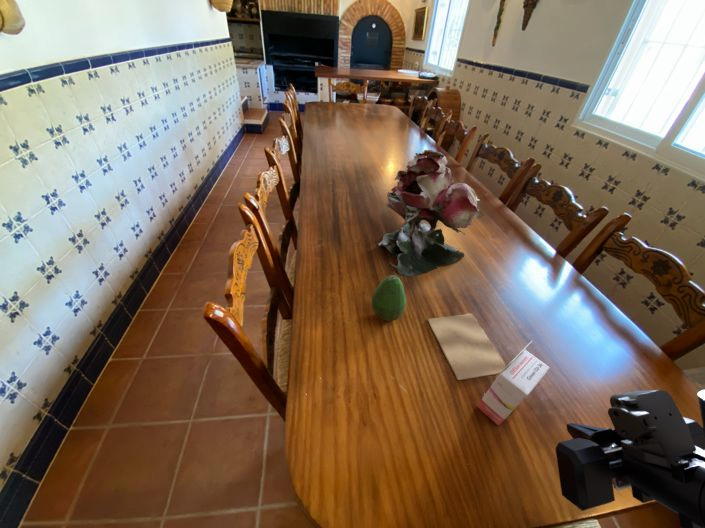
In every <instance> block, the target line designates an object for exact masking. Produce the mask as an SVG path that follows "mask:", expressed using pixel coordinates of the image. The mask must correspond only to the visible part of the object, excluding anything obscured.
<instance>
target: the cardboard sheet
mask: <svg viewBox="0 0 705 528" xmlns="http://www.w3.org/2000/svg"><path fill="white" fill-rule="evenodd" d="M426 319H427V323H428V325H429V327H430V329H431V331H432V333H433V336H434V337H435V339H436V340H437V344H439V347H440V349H441V351H442V353H443V354H444V357H445V359H446V361H447V363H448V365H449V367H450V369H451V371H452V373H453V375H454V377H455V379H456V381H457V382H462V381H466V380H473V379H478V378H483V377H490V376H496V375H499V374H500V373H501V371H502V370H503V369H504V368H505V367H506V366H507V364H506V363H505V361H504V360H503V358H502V356H501V355H500V354H499V352H498V350H497V349H496V347H495V346H494V345H493V343H492V341H491V340H490V339H489V337H488V335H487V334H486V331H484V329H483V328H482V326H481V324H480V323H479V322H478V320H477V319H476V318H475V316H474V314H473V313H465V314H456V315H455V314H454V315H448V316H441V317H431V318H426Z"/></svg>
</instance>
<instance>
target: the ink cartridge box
mask: <svg viewBox="0 0 705 528" xmlns="http://www.w3.org/2000/svg"><path fill="white" fill-rule="evenodd" d="M532 343H533V340H531V341H530V342H528V343H527V344H526V345H525V346H524V348H522V350H520V351H519V353H518V354H517V355H515V357H514V358H513V359H512V360H511V361H510V362H509V363H508V364H506V367H505V368H504V369H503V370H502V371H501V373H500V374H497V376H496V378H495V379H494V381H493V382H492V383H491V385H490V387H489V388H488V389H487V390H486V392H485V394H484V395H483V396H482V398H481V399H480V401H479V402H478V403H477V404H476V407H477V408H478V409H479V410H480V411H481V412H483V414H485V415H486V416H487V417H488V418H489V419H490V420H491V421H492V422H493V423H494V424H495V425H496V426H498V427H499V426H500V425H501V424H502V423H504V421H505V420H506V419H507V418H508V417H509V416H510V415H511V413H512V412H513V411H514V410H516V408H517V407H518V406H519V405H520V404H521V403H522V402H523V401H524V400H525V399H526V398H527V397H528V396H529V395H530V394H531V393H532V391H533V390H534V389H535V388H536V387H537V385H538V384H539V383H540V382H541V380H542V379H543V378H544V376H545V375H547V372H548V371H549V369H550V366H548V365H547V364H546V363H545V362H543V361H542V360H540V359H539V358H537V357H536V356H535V355H533V354H532V353H531V352H529V351H528V350H527V348H528V347H529V346H530V345H531V344H532Z"/></svg>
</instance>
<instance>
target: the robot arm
mask: <svg viewBox="0 0 705 528" xmlns="http://www.w3.org/2000/svg"><path fill="white" fill-rule="evenodd" d="M696 396H697V401H698V406H699V407H698V408H699V413H700V418H701V423H702V424H701V425H700V423H699V422H698V421H696V420H694V419H691V418H688V417H684V416H683V415H682V412H681V411H680V409H679V407H678V406H677V404H676V401H675V400H674V398H673V396H672V395H671V394H670V393H669V392H668V391H666V390H664V389H648V390H630V391H628V392H627V391H626V392H623V393H616V394H612V395H611V396H610V398H609V405H610V406H611V407H609V408H608V410H607V415H608V417H609V419H610V421H611V424H612V425H613V427H614V429H613V427H610V428H604V427H597V426H593V425H585V424H580V423H575V422H570V423H566V430H567V432H568V434H569V435H570V437H571V438H572V439H567V440H562V441H558V443H557V445H556V446H555V456H556V462H557V469H558V470H557V471H558V477H559V481H560V482H559V484H560V491H561V496H562V497H564V499H566V500H567V501H568V502H569V503H571V504H573V505H574V506H575V507H576V508H577V509H579V510H580V511H582V512H583V511H587V510H590V509H593V508H597V507H601V506H604V505H608V504H610V503H613V502H615V501H616V499H615V492H614V489H615V490H616V491H622V490H626V489H629V488H631V494H632V498H633V499H636V500H637V501H639V502H641V503H642V504H646V503H650V502H653V501H655V502H656V503H658V504H660V505H662V506H664V507H665V508H667V509H669V510H671V511H672V512H674V513H676V514H678V519H679V525H680V527H681V528H705V389H700V391H697V394H696Z"/></svg>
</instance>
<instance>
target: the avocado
mask: <svg viewBox="0 0 705 528" xmlns="http://www.w3.org/2000/svg"><path fill="white" fill-rule="evenodd" d="M406 303H407V296H406V291H405V288H404V284H403V281H402V280H401V279H400V277H399V276H397V275H396V274H389V275H387V276H385V278H384V279H383V280H382V281H381V282H380V283H379V284H378V286H377V287H376V288H375V289H374V291H373V294H372V298H371V307H372V310H373V312H374V313H375V314H376V315H377V317H379V318H380V319H381V320H383V321H385V322H386V321H387V322H392V321H396V320H398V319H399V318H400V317H401V316H402V315H403V313H404V312H405V310H406V305H407V304H406Z"/></svg>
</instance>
